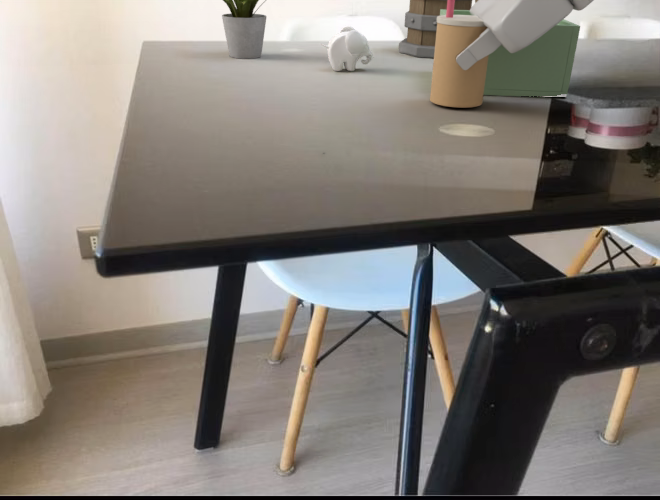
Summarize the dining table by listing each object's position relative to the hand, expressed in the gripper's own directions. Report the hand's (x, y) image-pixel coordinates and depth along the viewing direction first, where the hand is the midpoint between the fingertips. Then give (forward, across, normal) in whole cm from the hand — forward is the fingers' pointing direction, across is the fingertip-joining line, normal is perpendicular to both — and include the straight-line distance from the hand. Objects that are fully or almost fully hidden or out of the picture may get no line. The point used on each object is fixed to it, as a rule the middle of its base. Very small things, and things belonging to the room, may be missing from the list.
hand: (455, 59), depth 73 cm
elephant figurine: (+13, -20, -6) cm, 25 cm away
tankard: (+1, -37, +6) cm, 37 cm away
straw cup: (+3, 0, +4) cm, 5 cm away
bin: (-2, -14, +9) cm, 17 cm away
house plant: (+25, -28, -17) cm, 41 cm away
